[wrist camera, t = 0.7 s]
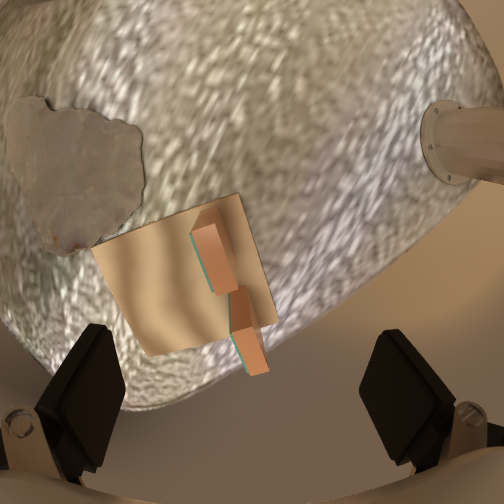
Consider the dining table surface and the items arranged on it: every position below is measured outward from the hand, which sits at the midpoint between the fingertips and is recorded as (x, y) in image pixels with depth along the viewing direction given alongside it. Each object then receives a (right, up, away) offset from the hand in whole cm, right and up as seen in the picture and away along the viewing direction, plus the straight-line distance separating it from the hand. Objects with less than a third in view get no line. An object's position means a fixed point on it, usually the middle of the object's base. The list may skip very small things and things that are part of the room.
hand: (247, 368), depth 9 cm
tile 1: (-4, +6, +23) cm, 24 cm away
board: (-8, 0, +25) cm, 27 cm away
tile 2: (-1, -3, +26) cm, 26 cm away
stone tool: (-24, +16, +19) cm, 34 cm away
